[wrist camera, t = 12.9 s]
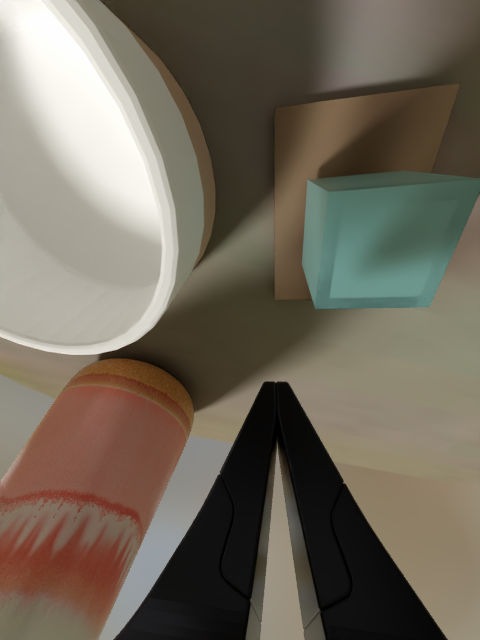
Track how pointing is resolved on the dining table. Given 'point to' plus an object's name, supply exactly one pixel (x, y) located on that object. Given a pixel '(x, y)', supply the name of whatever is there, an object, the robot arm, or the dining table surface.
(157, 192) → the bowl
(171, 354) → the dining table surface
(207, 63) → the dining table surface
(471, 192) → the teal tilted box
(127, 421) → the vase
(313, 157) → the post block
